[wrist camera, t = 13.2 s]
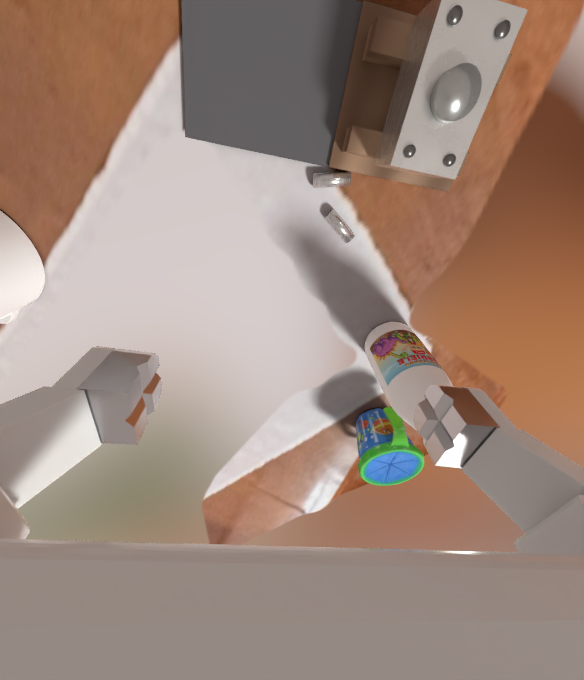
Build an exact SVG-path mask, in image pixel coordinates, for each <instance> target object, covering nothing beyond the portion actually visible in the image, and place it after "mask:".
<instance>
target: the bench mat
mask: <svg viewBox="0 0 584 680" xmlns="http://www.w3.org/2000/svg"><path fill="white" fill-rule="evenodd" d="M181 6H182V39H183V72H184V105H185V137H188V138H192V139H197V140H202V141H207V142H212V143H216V144H221V145H226V146H231V147H236V148H240V149H245V150H250V151H255V152H259V153H264V154H269V155H274V156H279V157H283V158H288V159H293V160H298V161H303V162H307V163H312V164H317V165H322V166H327V167H328V166H329V162H330V157H331V152H332V147H333V142H334V137H335V133H336V128H337V123H338V118H339V113H340V109H341V104H342V99H343V94H344V89H345V84H346V80H347V75H348V70H349V65H350V60H351V55H352V51H353V46H354V41H355V36H356V31H357V27H358V22H359V17H360V12H361V7H362V2H360V1H357V0H181ZM331 168H332V167H331Z"/></svg>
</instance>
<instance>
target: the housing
mask: <svg viewBox="0 0 584 680" xmlns="http://www.w3.org/2000/svg"><path fill="white" fill-rule="evenodd" d="M526 13H527V9H524V8H520V7H517V6H514V5H511V4H508V3H505V2H501V1H498V0H431V1H430V2H429V3H428V4H427V5H426V6H425V7H424V9H423V10H422V11H421V12H420V13H419V14H418V15H417V16H416V17H415V18H414V21H413V25H412V28H411V32H410V35H409V39H408V42H407V46H406V49H405V53H404V57H403V60H402V64H401V67H400V71H399V74H398V78H397V81H396V85H395V89H394V92H393V96H392V99H391V103H390V106H389V110H388V114H387V117H386V121H385V124H384V128H383V131H382V135H381V138H380V142H379V146H378V149H377V153H376V156H375V160H374V163H373V165H376V166H380V167H385V168H390V169H394V170H399V171H404V172H408V173H413V174H418V175H423V176H427V177H436V178H446V179H456V176H457V174H458V172H459V169H460V167H461V165H462V162H463V160H464V158H465V155H466V153H467V151H468V148H469V146H470V144H471V141H472V139H473V136H474V134H475V132H476V129H477V127H478V125H479V122H480V120H481V118H482V115H483V113H484V111H485V108H486V106H487V104H488V101H489V99H490V97H491V94H492V92H493V90H494V87H495V85H496V83H497V80H498V78H499V76H500V73H501V71H502V69H503V66H504V64H505V62H506V59H507V57H508V55H509V52H510V50H511V48H512V45H513V43H514V41H515V38H516V36H517V34H518V31H519V29H520V27H521V24H522V22H523V20H524V17H525V15H526Z"/></svg>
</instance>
